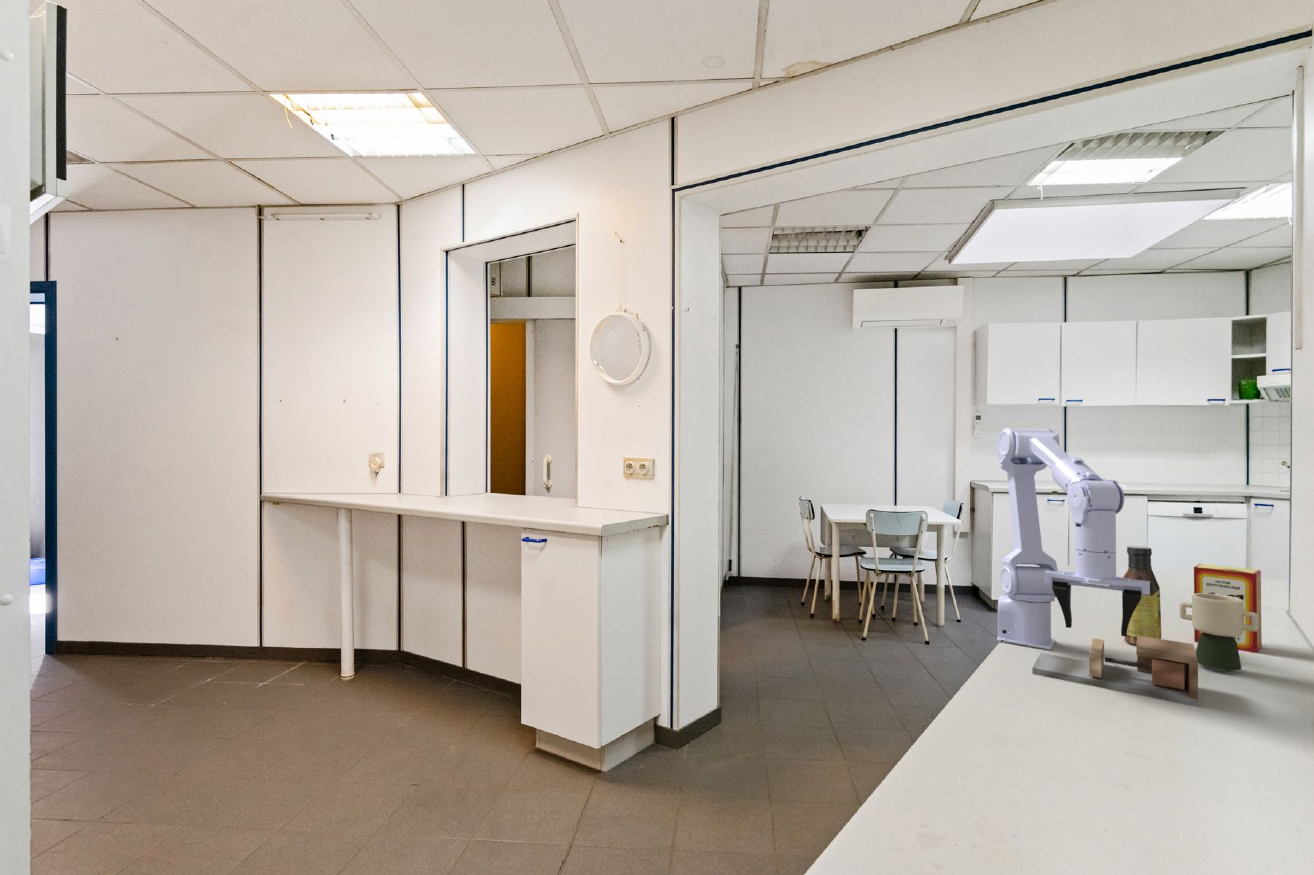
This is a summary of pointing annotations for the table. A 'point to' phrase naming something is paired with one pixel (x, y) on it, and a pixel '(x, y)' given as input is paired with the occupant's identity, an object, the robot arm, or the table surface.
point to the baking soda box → (1234, 585)
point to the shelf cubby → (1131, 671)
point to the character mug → (1218, 628)
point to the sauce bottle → (1143, 597)
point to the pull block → (1161, 669)
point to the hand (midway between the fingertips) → (1095, 630)
